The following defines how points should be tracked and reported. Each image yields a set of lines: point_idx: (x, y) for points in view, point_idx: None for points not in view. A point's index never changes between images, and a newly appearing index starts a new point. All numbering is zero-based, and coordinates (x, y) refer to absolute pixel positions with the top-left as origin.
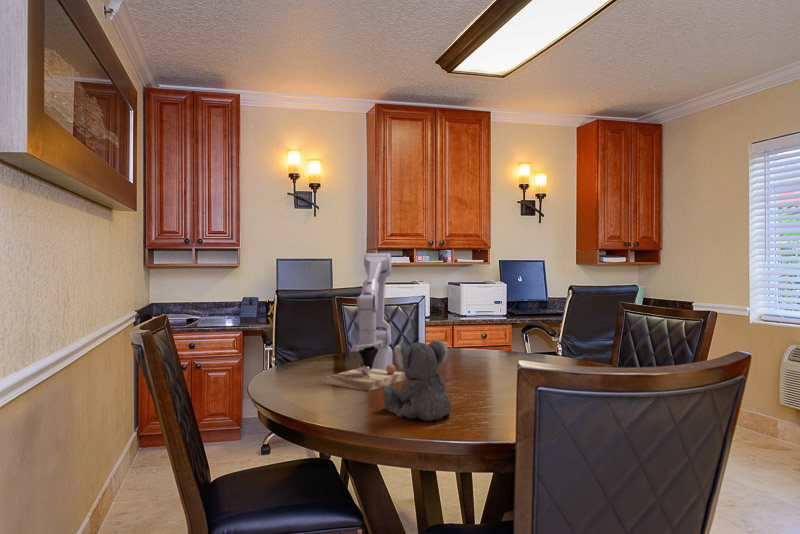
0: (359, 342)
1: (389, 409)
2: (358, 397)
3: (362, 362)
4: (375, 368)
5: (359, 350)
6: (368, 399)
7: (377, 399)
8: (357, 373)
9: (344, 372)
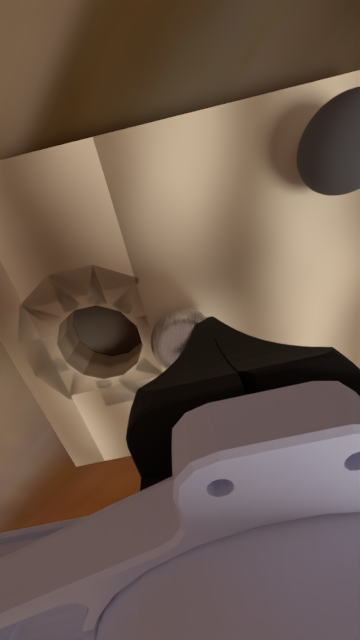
0: (138, 601)
1: None
2: (5, 472)
3: (323, 152)
4: None
5: (131, 433)
6: (25, 499)
7: (50, 510)
8: (160, 267)
9: (103, 158)
